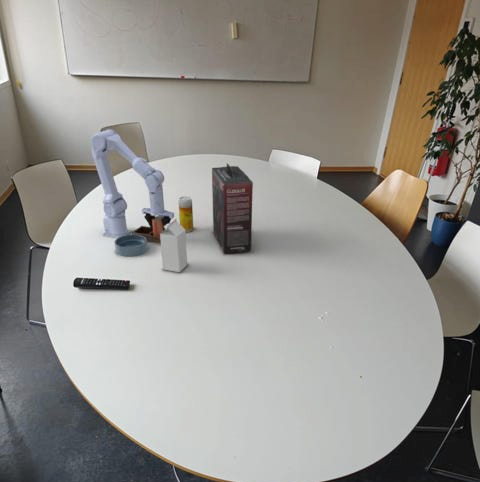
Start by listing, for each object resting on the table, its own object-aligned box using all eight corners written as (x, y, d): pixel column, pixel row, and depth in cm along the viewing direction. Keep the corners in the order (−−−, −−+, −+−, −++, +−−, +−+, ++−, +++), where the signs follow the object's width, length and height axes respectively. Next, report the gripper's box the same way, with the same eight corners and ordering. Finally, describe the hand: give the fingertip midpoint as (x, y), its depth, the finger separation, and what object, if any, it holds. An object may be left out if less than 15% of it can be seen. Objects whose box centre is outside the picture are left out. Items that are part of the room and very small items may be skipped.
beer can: (191, 232, 198) (189, 201, 190) (178, 231, 199) (176, 200, 191) (195, 227, 203) (193, 196, 195) (182, 226, 204) (180, 195, 196)
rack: (132, 239, 191) (131, 232, 189) (142, 232, 197) (141, 225, 196) (164, 245, 186) (163, 238, 184) (173, 238, 193) (172, 231, 191)
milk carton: (187, 264, 172) (184, 219, 161) (179, 272, 166) (176, 226, 156) (171, 262, 173) (167, 217, 163) (163, 269, 168) (158, 223, 158)
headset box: (212, 231, 199) (210, 158, 182) (238, 229, 202) (239, 156, 184) (223, 254, 179) (222, 174, 161) (252, 252, 182) (254, 173, 164)
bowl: (109, 254, 179) (108, 244, 176) (127, 242, 189) (126, 232, 186) (136, 259, 175) (135, 249, 172) (153, 247, 185) (152, 237, 182)
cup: (150, 237, 188) (148, 219, 184) (157, 232, 193) (155, 215, 188) (162, 239, 186) (160, 221, 182) (169, 234, 191) (167, 217, 186)
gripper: (136, 201, 180) (140, 232, 187) (167, 206, 176) (169, 237, 183) (145, 196, 186) (148, 226, 193) (175, 201, 181) (177, 231, 189)
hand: (159, 231), depth 188 cm, fingers closed on cup, 6 cm apart
